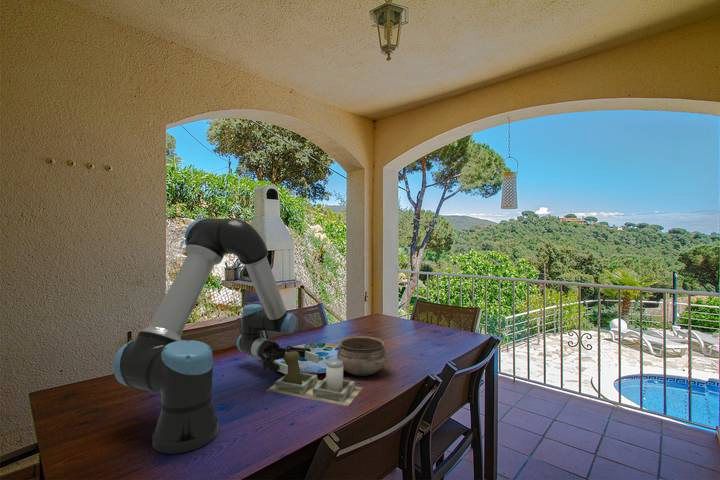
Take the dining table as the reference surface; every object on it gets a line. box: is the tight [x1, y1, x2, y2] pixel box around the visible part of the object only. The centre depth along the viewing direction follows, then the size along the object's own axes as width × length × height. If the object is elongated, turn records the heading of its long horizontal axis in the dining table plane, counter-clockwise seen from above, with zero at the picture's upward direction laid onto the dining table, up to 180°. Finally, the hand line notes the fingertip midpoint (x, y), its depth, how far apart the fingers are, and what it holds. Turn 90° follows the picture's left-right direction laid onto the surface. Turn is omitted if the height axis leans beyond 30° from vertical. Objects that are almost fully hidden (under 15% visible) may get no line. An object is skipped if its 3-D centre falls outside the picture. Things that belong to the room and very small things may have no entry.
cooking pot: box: [336, 335, 388, 377], centre depth 131 cm, size 25×19×12 cm
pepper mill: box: [283, 351, 302, 385], centre depth 117 cm, size 6×6×11 cm
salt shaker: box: [325, 358, 344, 392], centre depth 112 cm, size 6×6×10 cm
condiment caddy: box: [265, 371, 363, 408], centre depth 114 cm, size 14×29×4 cm, turn 70°
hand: (303, 364), depth 115 cm, fingers open, 13 cm apart
